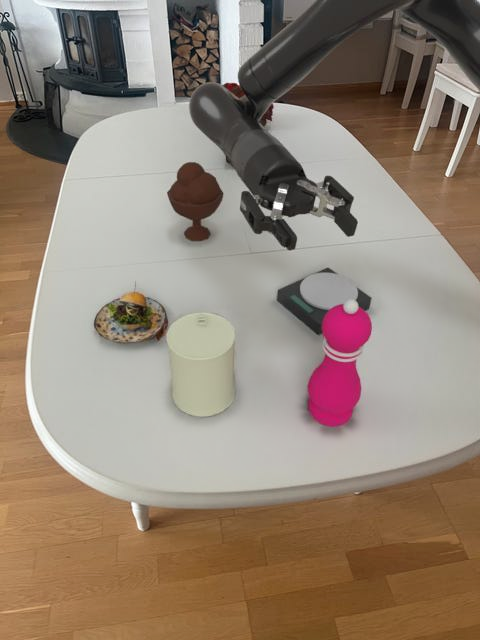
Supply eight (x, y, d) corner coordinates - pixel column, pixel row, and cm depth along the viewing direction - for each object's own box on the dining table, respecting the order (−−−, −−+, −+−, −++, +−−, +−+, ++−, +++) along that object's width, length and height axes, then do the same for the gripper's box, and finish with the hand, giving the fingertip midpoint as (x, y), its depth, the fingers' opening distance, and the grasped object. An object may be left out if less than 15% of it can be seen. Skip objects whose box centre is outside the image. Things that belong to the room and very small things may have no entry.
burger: (81, 326, 86) (72, 291, 81) (137, 294, 93) (132, 259, 88) (126, 362, 80) (119, 326, 75) (183, 325, 87) (180, 290, 82)
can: (234, 368, 80) (234, 308, 72) (236, 416, 73) (237, 356, 65) (173, 369, 79) (167, 309, 71) (170, 418, 72) (163, 357, 64)
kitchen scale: (326, 277, 97) (328, 264, 96) (369, 308, 91) (372, 295, 89) (276, 300, 92) (277, 287, 90) (318, 335, 86) (320, 322, 84)
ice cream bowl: (162, 243, 105) (155, 174, 95) (184, 216, 113) (179, 150, 103) (211, 253, 103) (209, 183, 93) (230, 225, 111) (230, 158, 101)
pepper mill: (340, 438, 70) (365, 330, 57) (294, 412, 73) (309, 304, 60) (364, 405, 75) (393, 297, 61) (321, 382, 78) (339, 274, 64)
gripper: (221, 151, 68) (277, 224, 58) (314, 136, 73) (380, 201, 63) (218, 199, 74) (268, 273, 64) (305, 182, 78) (364, 249, 69)
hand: (324, 237), depth 64 cm, fingers open, 8 cm apart
